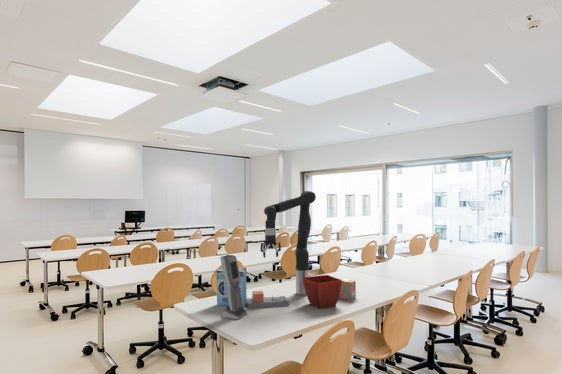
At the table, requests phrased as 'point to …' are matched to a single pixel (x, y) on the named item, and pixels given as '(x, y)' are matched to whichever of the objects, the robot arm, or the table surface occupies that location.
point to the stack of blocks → (347, 289)
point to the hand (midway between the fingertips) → (270, 257)
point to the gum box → (222, 289)
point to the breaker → (275, 297)
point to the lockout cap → (257, 296)
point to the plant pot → (322, 290)
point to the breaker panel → (267, 302)
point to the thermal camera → (232, 288)
